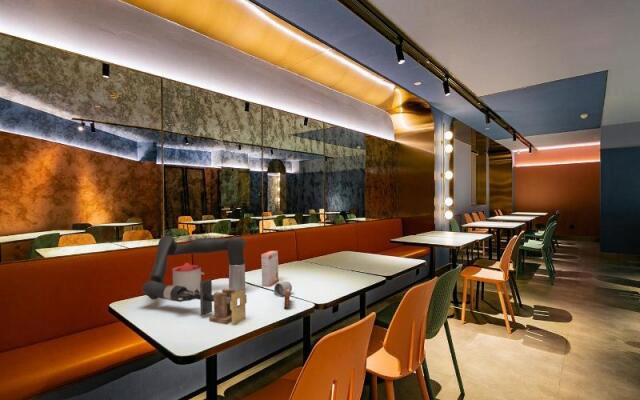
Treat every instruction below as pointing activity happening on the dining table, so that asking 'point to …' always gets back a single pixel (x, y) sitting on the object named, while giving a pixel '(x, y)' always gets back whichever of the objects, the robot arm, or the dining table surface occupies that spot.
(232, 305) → the tan wooden flat panel
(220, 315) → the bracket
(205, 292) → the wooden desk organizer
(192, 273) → the citrus juicer
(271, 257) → the cracker box
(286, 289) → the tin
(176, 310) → the dining table surface
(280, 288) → the ceramic mug
